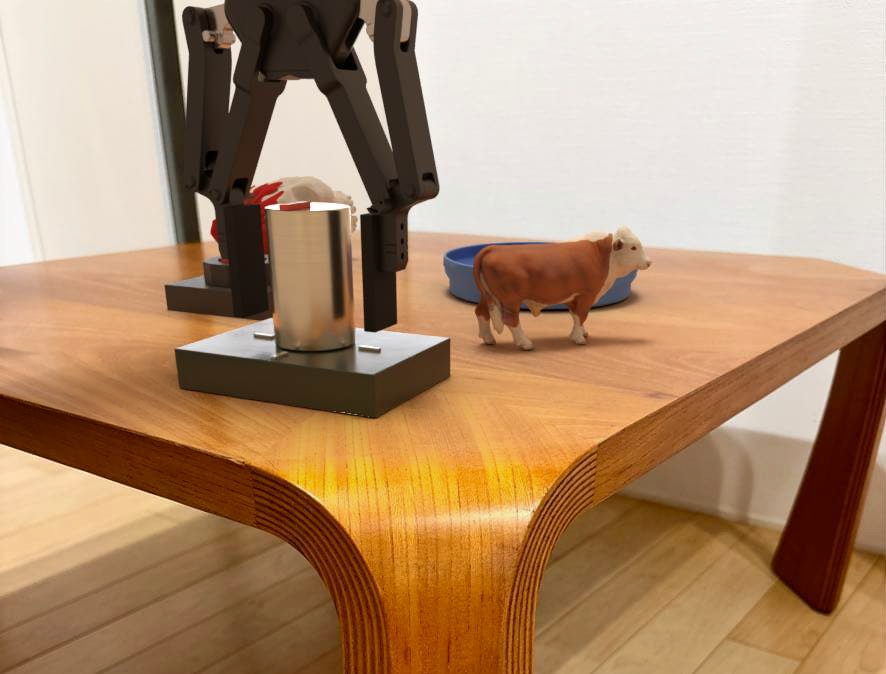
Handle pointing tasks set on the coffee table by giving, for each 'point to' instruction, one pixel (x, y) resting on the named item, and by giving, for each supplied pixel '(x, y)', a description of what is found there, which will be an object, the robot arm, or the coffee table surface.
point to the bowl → (465, 288)
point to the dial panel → (315, 369)
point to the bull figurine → (551, 279)
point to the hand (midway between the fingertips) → (314, 320)
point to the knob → (311, 275)
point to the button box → (210, 292)
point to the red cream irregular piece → (294, 198)
